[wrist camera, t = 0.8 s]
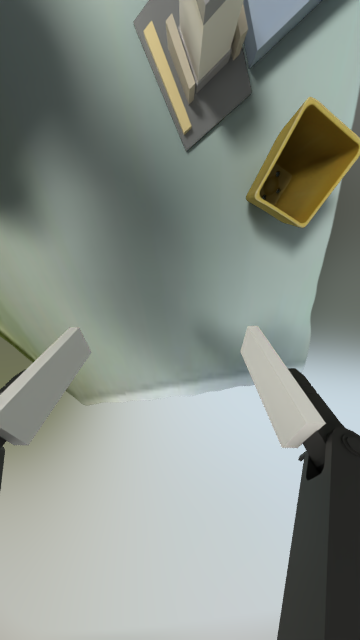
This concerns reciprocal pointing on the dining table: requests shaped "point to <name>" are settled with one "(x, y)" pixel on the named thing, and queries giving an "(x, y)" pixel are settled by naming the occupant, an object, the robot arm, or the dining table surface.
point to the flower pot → (304, 165)
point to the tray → (271, 23)
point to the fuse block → (176, 77)
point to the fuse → (207, 35)
